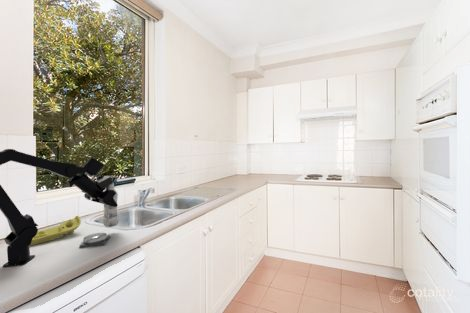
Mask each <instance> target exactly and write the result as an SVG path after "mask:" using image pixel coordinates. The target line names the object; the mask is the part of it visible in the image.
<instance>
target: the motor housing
mask: <svg viewBox="0 0 470 313" xmlns="http://www.w3.org/2000/svg"><path fill="white" fill-rule="evenodd" d="M110 238H111V235H110V234H107V233H106V232H97V233H92V234H91V233H90V234H88V235H86V236H84V237H83V240H82V242H81V243H80V244H79V249H83V248H92V247H102V246H105V245H106V244H107V242H108V241H109V239H110Z"/></svg>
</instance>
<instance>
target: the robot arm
mask: <svg viewBox="0 0 470 313" xmlns="http://www.w3.org/2000/svg"><path fill="white" fill-rule="evenodd" d="M8 162H15V163H18V164H21V165H22V164H23V165H25V166H30V167H34V168H38V169H41V170H46V171H48V172H50V173H53V174H54V175H57V176H59V177H62V178H67V180H66V187H69V188H72V187H73V186H75V187H76V188H77V189H79V190H80V191H81V192H82V193H84V195H83V196H84V198H85V199H86V200H88V201H91V202H95V203H99V204H101V205H102V204H103V205H104V204H105V205H109V206H113V207H117V208H118V202H117V203H116V202H115V200H114V198H113V197H114V196H115V194H116V192H117V191H116V192H115V191H114V190H110V189H108V190H106V188H105V187H106V186H108V185H109V184H112V183H114V181H113V179H112V177H111V176H110V175H104V176H102V175H98V174H99V173H100V172H101V171H102V170H103V169H104V168H105V165H104V163H103V162H102V161H99V160H98V159H96V158H94V157H89V158H88V159H87V161H85V162H84V163H83V165H77V164H74V163H71V162H70V163H69V162H62V161H55V160H54V161H53V160H50V159H46V158H42V157H39V156H35V155H32V154H29V153H25V152H22V151H17V150H16V149H14V148H6V149H3V150H1V151H0V166H2V165H4V164H7V163H8ZM97 175H98V176H97ZM90 177H91V178H90ZM92 177H96V181H95V180H93V179H92ZM105 190H106V191H105ZM104 191H105V192H104ZM0 212H1V213H2V214H3V216H4V217H5V218H6V220H7V222H8V226H9V229H10V231H11V232H10V233H9V234H8V235H6V237H5V238H4V239H3V240H4V242H5V244H6V245H7V248H6V253H7V262H6V263H4V264H2V267H3V268H4V267H5V268H6V267H14V266H21V265H26V264H28V263H29V261H31V260H32V259H33V258H35V257H36V255H35V254H33V255H31V252H30V250H31V249H30V246H31V245H30V244H31V242H32V239H33V238H34V237H35V236H36V234H37V232H38V231H39V230H38V226H39V224H37V223H36V222H35V220H34V218H33V216H32V215H30V214H25V215H23V214H22V212H21V211H20V210H19V208H18V207H17V206H16V204H15V203H14V201H13V200H12V199H11V198H10V196H9V195H8V193H7V192H6V190H5V189H4V188H3V187H2V185H1V184H0Z"/></svg>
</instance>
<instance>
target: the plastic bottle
mask: <svg viewBox="0 0 470 313" xmlns="http://www.w3.org/2000/svg"><path fill="white" fill-rule="evenodd" d="M105 188H106V189H105V190H103V191H104V192H105V191H106V190H108V189H110V190H114V191H115V192H116V194H115V196H114V197H113V198H114V200H115V202H116V203H117V204H118V198H119V197H118V196H119V194H118V191H117V190H116V189H115V183H114V182H113V183H112V184H109V185H108V186H106V187H105ZM103 212H104V213H103V221H102V224H103V226H104V227H105V228H112V227H116V226H118V224H119V215H118V206H117V207H113V206H109V205H105V204H103Z"/></svg>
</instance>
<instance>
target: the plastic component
mask: <svg viewBox="0 0 470 313" xmlns="http://www.w3.org/2000/svg"><path fill="white" fill-rule="evenodd" d="M81 221H82V220H81V218H80V216H79V215H77V216H75V217H74V218H73V219H68V220H66V221H63V222H61V223H60V224H59V225H55V226H52V227H48V228H44V229H41V230H38V232H37V234H36V236H35V237H34V238H33V239H32V242H31V244H30V245H29V246H35V245H39V244H43V243H46V242H49V241H53V240H56V239H60V238H62V237H63V236H64V235H70V234H73V233H75V230H77V229H78V228H79V226H80V225H81V223H82V222H81Z"/></svg>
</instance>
